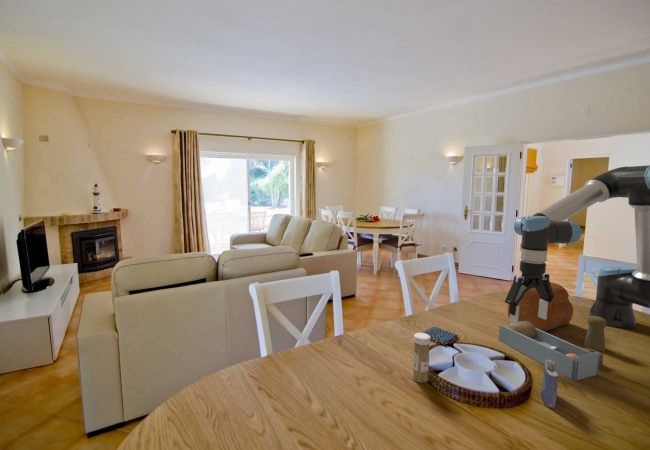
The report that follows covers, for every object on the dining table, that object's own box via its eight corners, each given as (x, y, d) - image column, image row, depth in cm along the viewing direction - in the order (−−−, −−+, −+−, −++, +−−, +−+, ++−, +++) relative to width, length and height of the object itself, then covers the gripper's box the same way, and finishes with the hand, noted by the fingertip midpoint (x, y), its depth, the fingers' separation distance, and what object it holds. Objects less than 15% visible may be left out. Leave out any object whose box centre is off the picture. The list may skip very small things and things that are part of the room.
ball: (584, 372, 102) (589, 359, 101) (573, 376, 101) (578, 362, 99) (568, 361, 107) (573, 348, 105) (557, 364, 105) (562, 351, 103)
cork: (609, 352, 115) (612, 321, 113) (589, 350, 116) (592, 319, 115) (598, 343, 121) (602, 314, 119) (579, 342, 122) (582, 313, 120)
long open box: (519, 336, 126) (520, 317, 125) (597, 374, 101) (600, 351, 100) (498, 340, 123) (500, 320, 122) (574, 381, 98) (577, 356, 97)
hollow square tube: (590, 359, 110) (591, 349, 109) (602, 364, 107) (603, 354, 106) (583, 361, 109) (584, 351, 108) (595, 366, 106) (596, 356, 105)
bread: (575, 325, 136) (579, 285, 134) (544, 336, 127) (548, 293, 124) (532, 311, 152) (535, 275, 150) (502, 319, 142) (504, 281, 140)
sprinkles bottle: (428, 384, 96) (430, 340, 94) (411, 381, 97) (413, 337, 95) (428, 375, 100) (430, 333, 98) (412, 373, 101) (414, 331, 100)
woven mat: (445, 348, 118) (445, 343, 117) (419, 338, 126) (419, 332, 125) (460, 339, 124) (460, 334, 124) (434, 330, 132) (434, 325, 132)
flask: (556, 410, 85) (559, 370, 84) (542, 406, 87) (546, 367, 85) (552, 390, 93) (555, 354, 92) (539, 387, 95) (542, 351, 93)
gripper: (548, 256, 122) (543, 312, 124) (496, 261, 113) (491, 321, 116) (569, 260, 115) (563, 319, 117) (515, 266, 106) (510, 330, 109)
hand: (528, 320), depth 117 cm, fingers open, 13 cm apart
